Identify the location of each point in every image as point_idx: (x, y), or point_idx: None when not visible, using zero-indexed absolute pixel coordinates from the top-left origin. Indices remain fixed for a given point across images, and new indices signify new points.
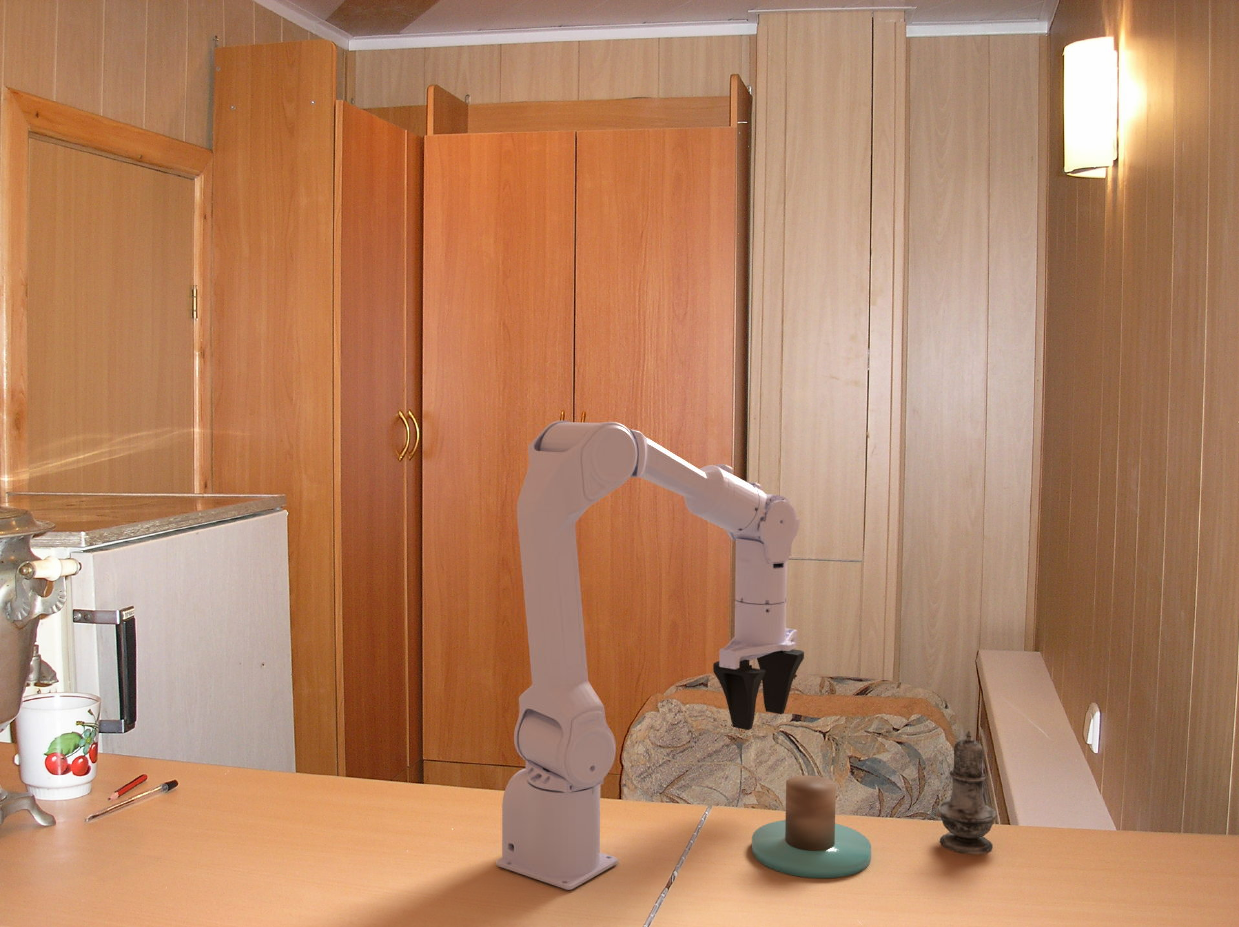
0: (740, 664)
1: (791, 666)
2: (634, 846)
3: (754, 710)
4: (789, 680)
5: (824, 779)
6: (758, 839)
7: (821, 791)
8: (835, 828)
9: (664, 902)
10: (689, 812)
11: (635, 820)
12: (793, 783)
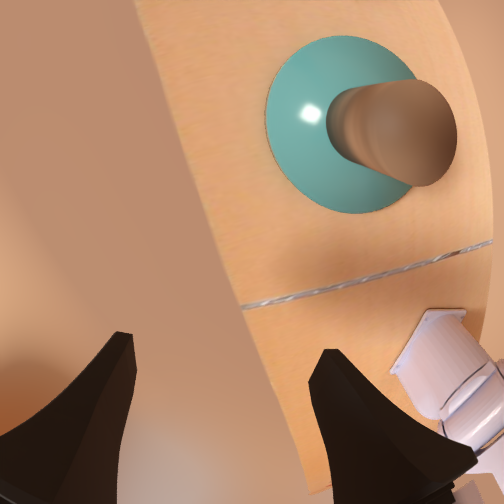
0: (450, 502)
1: (73, 472)
2: (388, 318)
3: (352, 383)
4: (83, 414)
5: (390, 105)
6: (380, 199)
7: (448, 108)
8: (294, 93)
9: (478, 242)
10: (274, 319)
11: (322, 350)
12: (431, 169)
